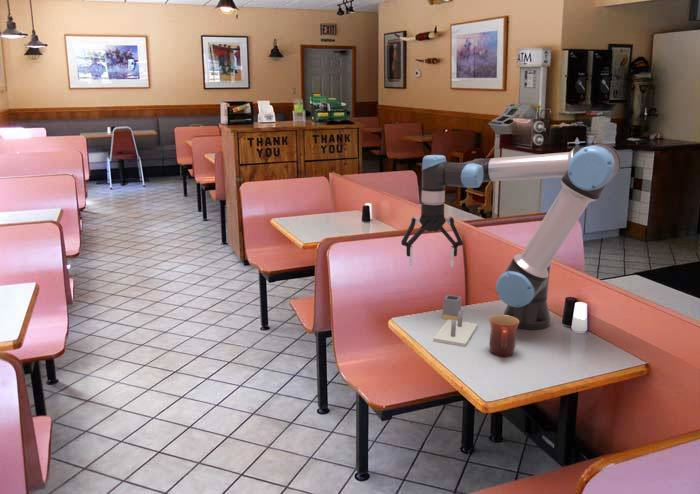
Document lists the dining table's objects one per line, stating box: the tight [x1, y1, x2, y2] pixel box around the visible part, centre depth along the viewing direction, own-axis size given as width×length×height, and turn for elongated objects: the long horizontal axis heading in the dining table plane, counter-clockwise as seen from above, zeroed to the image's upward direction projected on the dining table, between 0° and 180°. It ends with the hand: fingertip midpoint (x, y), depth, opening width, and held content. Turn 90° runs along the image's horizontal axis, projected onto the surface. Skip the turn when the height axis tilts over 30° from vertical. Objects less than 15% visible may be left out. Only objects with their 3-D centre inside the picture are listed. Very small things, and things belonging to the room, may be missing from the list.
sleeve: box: [442, 294, 463, 321], centre depth 215 cm, size 5×5×7 cm
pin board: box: [432, 310, 479, 348], centre depth 201 cm, size 10×18×6 cm, turn 157°
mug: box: [488, 314, 520, 357], centre depth 186 cm, size 12×9×10 cm
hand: (431, 265), depth 212 cm, fingers open, 13 cm apart
